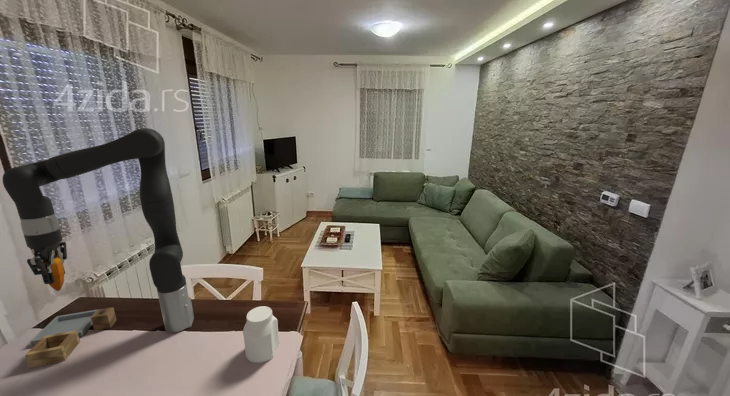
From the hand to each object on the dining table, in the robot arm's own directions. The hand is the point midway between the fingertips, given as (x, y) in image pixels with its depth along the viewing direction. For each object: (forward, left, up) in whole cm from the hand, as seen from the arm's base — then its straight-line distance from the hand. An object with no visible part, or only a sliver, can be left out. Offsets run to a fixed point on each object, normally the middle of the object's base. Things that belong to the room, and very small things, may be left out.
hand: (55, 278), depth 92 cm
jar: (-61, +21, -28) cm, 71 cm away
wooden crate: (+6, 0, -28) cm, 29 cm away
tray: (+9, -14, -28) cm, 33 cm away
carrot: (0, 0, -5) cm, 5 cm away
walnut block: (-3, -12, -28) cm, 31 cm away
